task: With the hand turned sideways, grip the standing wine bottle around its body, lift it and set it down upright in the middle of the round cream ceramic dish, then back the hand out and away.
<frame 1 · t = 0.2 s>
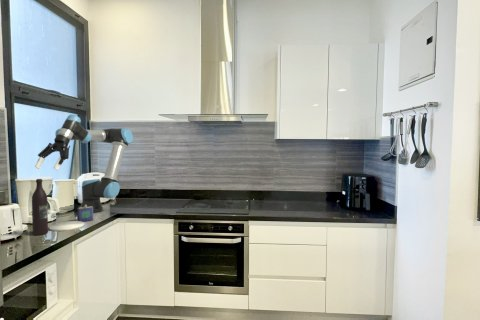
hand: (46, 168, 171), 35 cm above the worktop, tool tilted 35°, fingers open, 13 cm apart
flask: (85, 221, 194), on the worktop
wine bottle: (40, 234, 167), on the worktop
ceramic dish: (67, 226, 181), on the worktop
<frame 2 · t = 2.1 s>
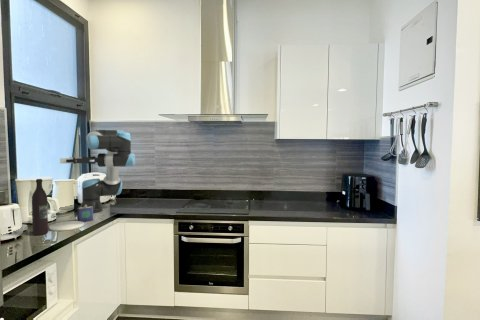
hand: (64, 160, 168), 40 cm above the worktop, tool horizontal, fingers open, 13 cm apart
nothing on the worktop moved.
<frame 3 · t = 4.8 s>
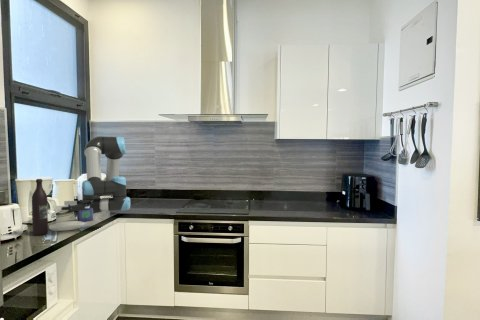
hand: (60, 205, 168), 15 cm above the worktop, tool horizontal, fingers open, 13 cm apart
nothing on the worktop moved.
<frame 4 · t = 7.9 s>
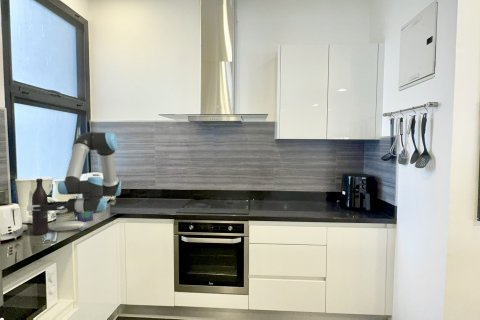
hand: (30, 206, 165), 15 cm above the worktop, tool horizontal, fingers closed on wine bottle, 7 cm apart
wine bottle: (40, 233, 167), on the worktop, touching gripper
everything else where it was.
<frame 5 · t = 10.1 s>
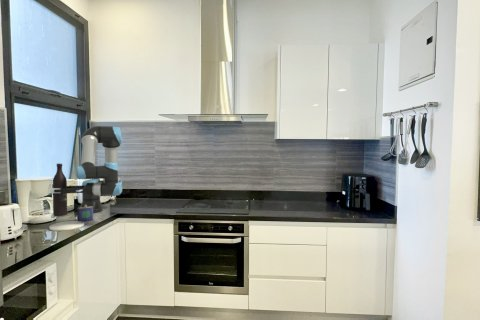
hand: (51, 189, 176), 23 cm above the worktop, tool horizontal, fingers closed on wine bottle, 7 cm apart
wine bottle: (60, 215, 177), point 8 cm above the worktop, touching gripper
everything else where it was.
when the fingers open (17 cm above the worktop, at t = 12.2 s): wine bottle stays where it is, resting on ceramic dish.
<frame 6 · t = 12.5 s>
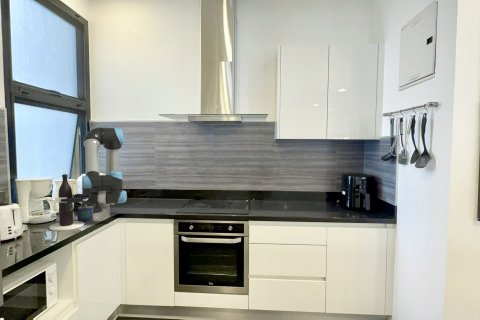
hand: (58, 198, 179), 17 cm above the worktop, tool horizontal, fingers open, 10 cm apart
wine bottle: (66, 225, 181), point 1 cm above the worktop, touching ceramic dish
everything else where it was.
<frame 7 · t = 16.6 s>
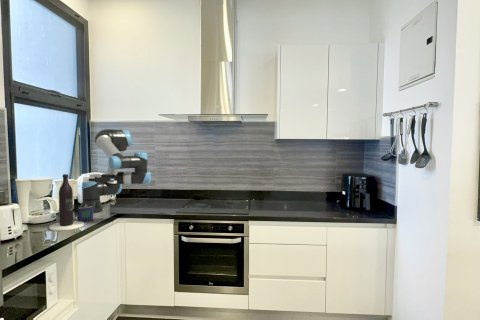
hand: (86, 178, 181), 29 cm above the worktop, tool horizontal, fingers open, 13 cm apart
nothing on the worktop moved.
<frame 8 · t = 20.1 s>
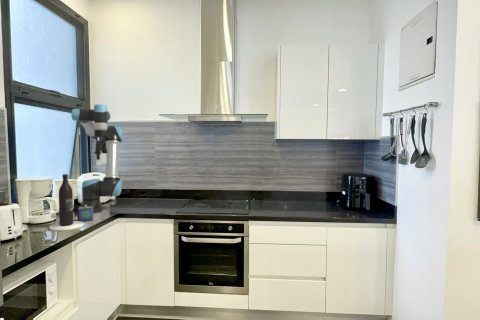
hand: (101, 164, 189), 37 cm above the worktop, tool pointing down, fingers open, 13 cm apart
nothing on the worktop moved.
at the end: wine bottle 0.4 cm from the ceramic dish (horizontally); wine bottle tilted 0°; wine bottle touching ceramic dish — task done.
